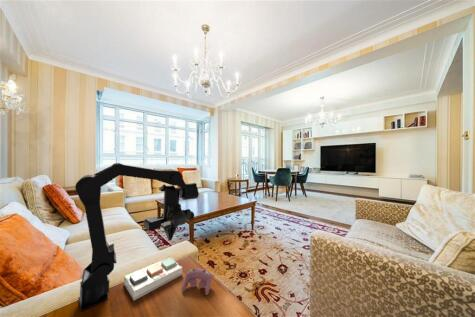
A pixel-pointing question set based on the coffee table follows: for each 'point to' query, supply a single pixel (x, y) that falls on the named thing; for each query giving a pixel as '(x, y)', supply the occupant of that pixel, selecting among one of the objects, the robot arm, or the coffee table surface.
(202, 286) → the video game controller
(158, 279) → the pad
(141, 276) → the charcoal key
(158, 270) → the terracotta key
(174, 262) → the sage key
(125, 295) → the coffee table surface
